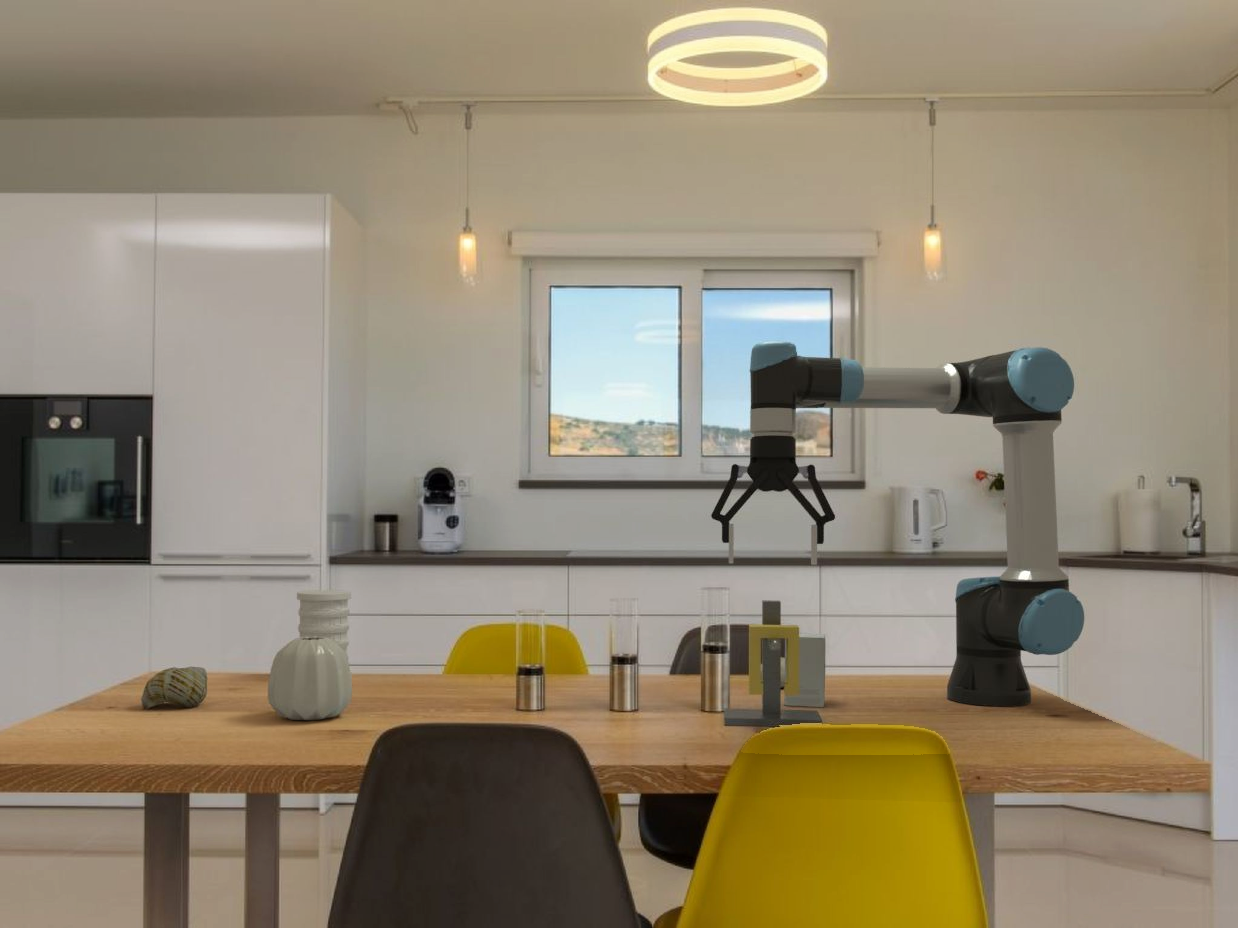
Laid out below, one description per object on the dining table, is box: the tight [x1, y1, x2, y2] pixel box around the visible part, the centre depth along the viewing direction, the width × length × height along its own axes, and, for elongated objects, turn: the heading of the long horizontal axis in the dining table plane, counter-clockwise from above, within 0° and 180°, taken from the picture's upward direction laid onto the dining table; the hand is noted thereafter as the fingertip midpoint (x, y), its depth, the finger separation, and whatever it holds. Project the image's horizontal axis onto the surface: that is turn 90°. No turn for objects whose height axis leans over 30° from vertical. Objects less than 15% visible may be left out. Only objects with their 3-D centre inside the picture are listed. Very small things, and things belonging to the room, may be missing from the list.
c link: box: [748, 624, 800, 696], centre depth 187 cm, size 8×4×11 cm, turn 85°
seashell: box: [140, 666, 208, 710], centre depth 202 cm, size 10×10×10 cm
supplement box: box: [783, 632, 826, 708], centre depth 210 cm, size 7×7×13 cm
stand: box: [723, 599, 823, 727], centre depth 189 cm, size 16×16×20 cm
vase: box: [267, 637, 353, 721], centre depth 193 cm, size 14×14×13 cm
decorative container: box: [296, 589, 352, 678], centre depth 234 cm, size 12×12×18 cm
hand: (772, 564), depth 188 cm, fingers open, 13 cm apart
